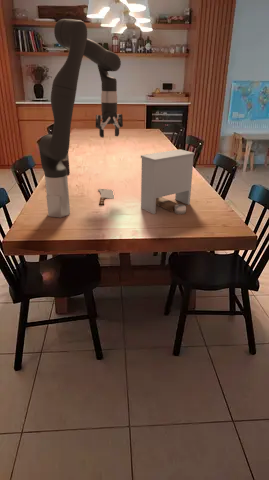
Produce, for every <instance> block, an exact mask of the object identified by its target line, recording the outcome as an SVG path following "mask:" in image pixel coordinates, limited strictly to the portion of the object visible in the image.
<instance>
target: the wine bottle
mask: <svg viewBox="0 0 269 480" xmlns="http://www.w3.org/2000/svg"><path fill="white" fill-rule="evenodd" d="M61 161H62V163H63V165H64V166H65V167H66V169H67V176H68V175H70V174H71V173H70V172H71V170H70V159H69V153H68V154H67V156H66V157H65V158H64V159H63V160H61Z"/></svg>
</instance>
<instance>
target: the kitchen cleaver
mask: <svg viewBox="0 0 269 480" xmlns="http://www.w3.org/2000/svg"><path fill="white" fill-rule="evenodd" d="M112 190H113V189H108V188H107V189H105V188H98V189H97V191H98V192H99V193H100V198H99V202H98V206H99V205H103V206H105V200H114V195H115V194H114V195H113V191H114V190H113V191H112Z"/></svg>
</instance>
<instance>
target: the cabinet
mask: <svg viewBox="0 0 269 480" xmlns="http://www.w3.org/2000/svg"><path fill="white" fill-rule="evenodd" d="M195 154H196V153H195V152H194V151H188V150H184V149H175V150H174V149H173V150H168V151H159V152H154V153H153V152H152V153H148V154H141V155H140V159H141V178H140V179H141V180H140V181H141V183H140V184H141V185H140V188H141V191H140V193H141V194H140V196H141V197H140V209H142V210H144V211H147V212H149V213H150V214H152V215H154V214H156V210H157V208H156V207H157V205H156V198H159V197H163V198H164V197H167V196H170V195H171V196H172V195H174V198H175V199H174V200H176V201H178V202H180V203H183V204H184V205H186V206H189V205H191V195H192V183H193V182H192V179H193V168H194V167H193V166H194V158H195V157H194V156H195Z"/></svg>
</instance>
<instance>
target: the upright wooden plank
mask: <svg viewBox="0 0 269 480" xmlns="http://www.w3.org/2000/svg"><path fill="white" fill-rule="evenodd" d="M177 204H178V203H177V202H174V201H172V200H169V199H167V198H165V197H164V196H163V197H159V198H156V206H158V205H159V206H158V207H161V208H162V209H163V208H164V210H166V211H167V210H168V211H170V212H172V213H173V212H174V211H175V205H177Z"/></svg>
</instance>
